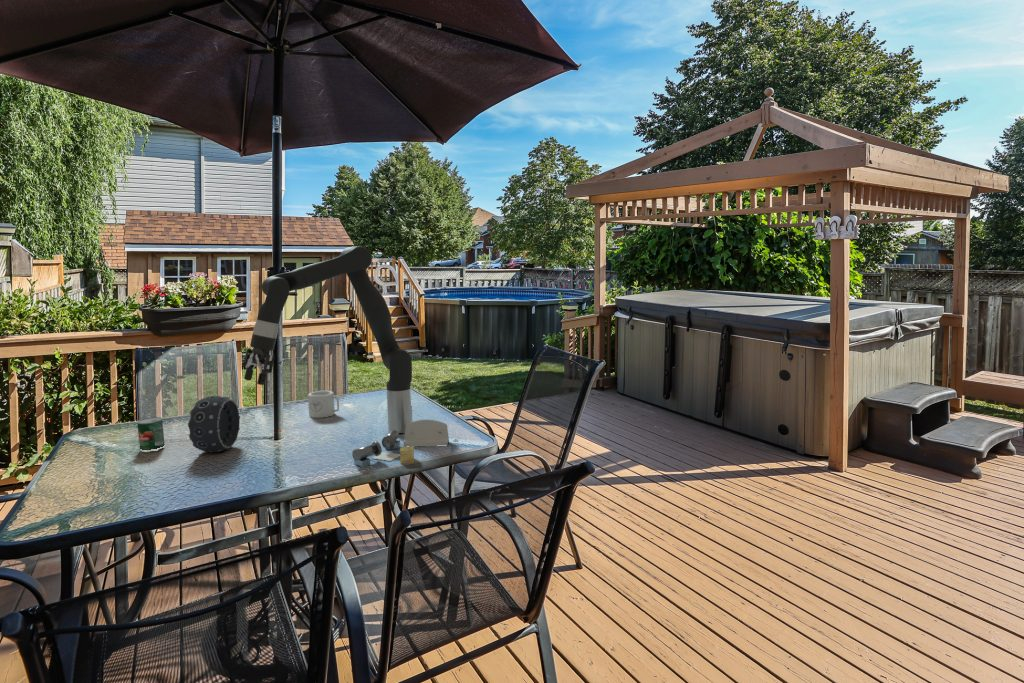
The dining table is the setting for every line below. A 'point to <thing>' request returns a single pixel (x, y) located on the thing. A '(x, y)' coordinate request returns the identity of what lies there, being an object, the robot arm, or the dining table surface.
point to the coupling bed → (386, 456)
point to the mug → (322, 404)
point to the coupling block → (407, 454)
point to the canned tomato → (150, 433)
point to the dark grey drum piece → (214, 424)
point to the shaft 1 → (366, 454)
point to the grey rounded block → (426, 433)
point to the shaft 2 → (391, 440)
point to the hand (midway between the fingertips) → (253, 382)
